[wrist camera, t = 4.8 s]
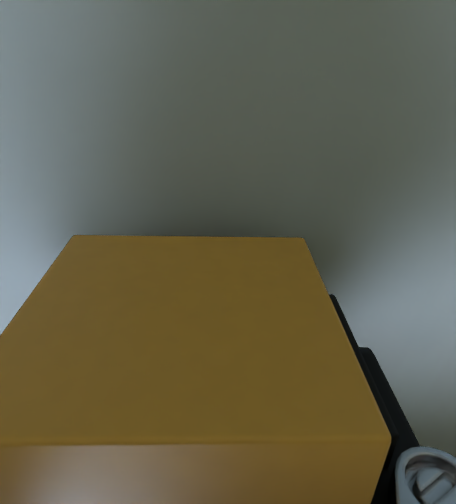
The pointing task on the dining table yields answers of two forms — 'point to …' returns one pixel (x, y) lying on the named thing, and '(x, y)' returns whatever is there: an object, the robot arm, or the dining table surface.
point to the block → (184, 379)
